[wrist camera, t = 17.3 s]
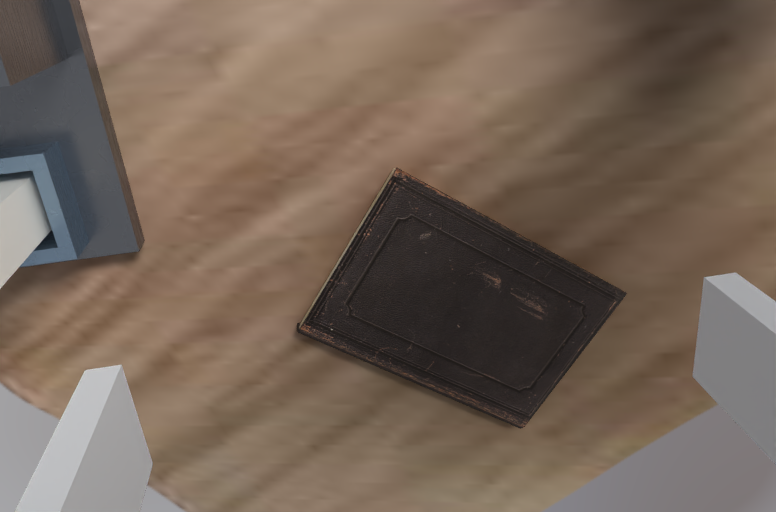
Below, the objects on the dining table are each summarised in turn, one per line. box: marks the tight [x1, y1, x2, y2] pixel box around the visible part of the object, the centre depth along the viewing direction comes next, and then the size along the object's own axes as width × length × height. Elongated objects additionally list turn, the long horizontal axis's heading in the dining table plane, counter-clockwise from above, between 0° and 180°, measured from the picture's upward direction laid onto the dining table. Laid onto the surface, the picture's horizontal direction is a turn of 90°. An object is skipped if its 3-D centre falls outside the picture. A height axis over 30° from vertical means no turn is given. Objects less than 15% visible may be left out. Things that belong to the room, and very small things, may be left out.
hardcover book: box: [297, 168, 627, 428], centre depth 57 cm, size 16×23×2 cm
